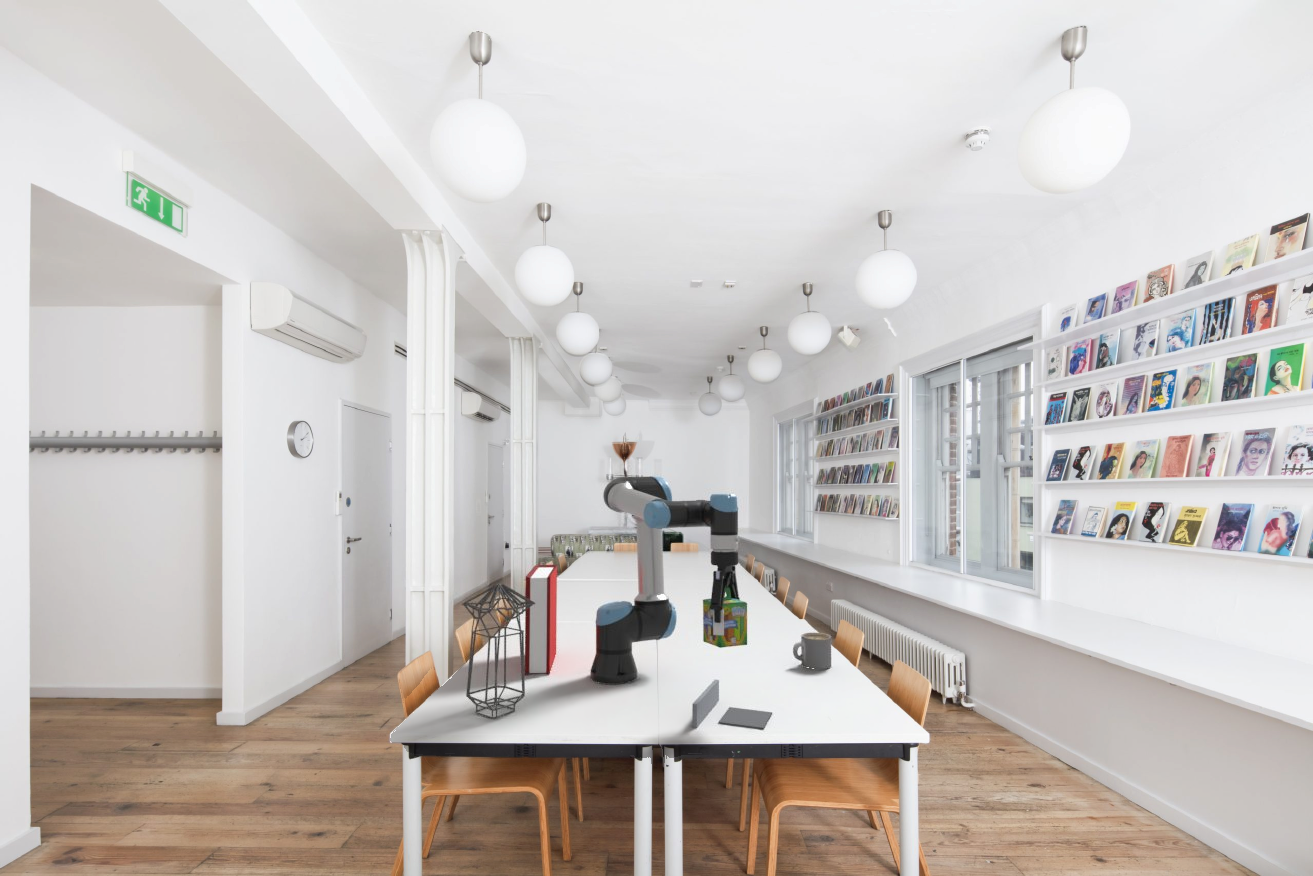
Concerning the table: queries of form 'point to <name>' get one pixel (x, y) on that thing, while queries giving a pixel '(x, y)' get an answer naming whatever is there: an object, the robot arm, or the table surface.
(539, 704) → the table surface
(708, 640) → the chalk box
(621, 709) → the table surface
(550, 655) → the book
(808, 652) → the coffee mug
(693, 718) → the low wall
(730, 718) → the mat
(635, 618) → the robot arm
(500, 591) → the geometric lantern
